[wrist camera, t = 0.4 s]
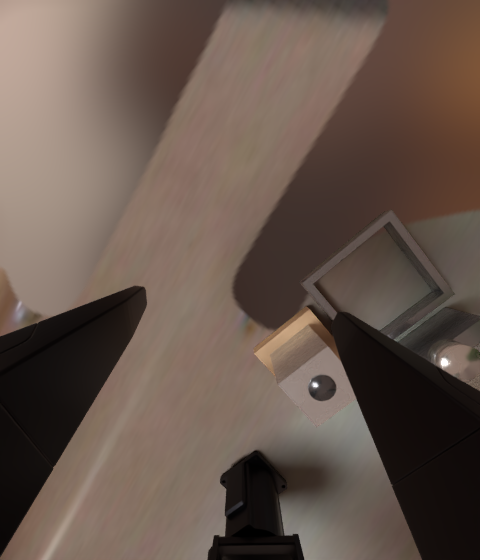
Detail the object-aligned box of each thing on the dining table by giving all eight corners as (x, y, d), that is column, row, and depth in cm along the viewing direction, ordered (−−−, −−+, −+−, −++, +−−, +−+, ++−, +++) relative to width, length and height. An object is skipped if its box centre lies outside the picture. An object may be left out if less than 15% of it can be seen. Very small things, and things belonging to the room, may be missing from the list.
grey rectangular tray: (464, 320, 22) (530, 339, 17) (381, 380, 23) (420, 414, 18) (382, 212, 20) (428, 198, 15) (299, 281, 21) (315, 289, 17)
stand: (347, 355, 23) (353, 360, 21) (295, 394, 23) (298, 402, 22) (306, 306, 22) (309, 309, 21) (253, 348, 23) (254, 353, 21)
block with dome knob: (337, 359, 21) (367, 392, 16) (299, 388, 22) (317, 428, 17) (307, 324, 21) (328, 346, 16) (269, 354, 21) (277, 385, 16)
